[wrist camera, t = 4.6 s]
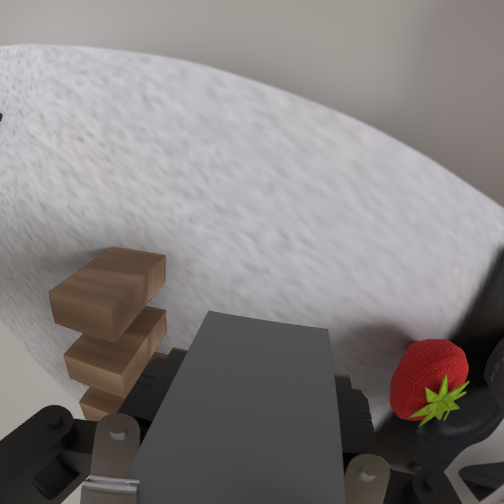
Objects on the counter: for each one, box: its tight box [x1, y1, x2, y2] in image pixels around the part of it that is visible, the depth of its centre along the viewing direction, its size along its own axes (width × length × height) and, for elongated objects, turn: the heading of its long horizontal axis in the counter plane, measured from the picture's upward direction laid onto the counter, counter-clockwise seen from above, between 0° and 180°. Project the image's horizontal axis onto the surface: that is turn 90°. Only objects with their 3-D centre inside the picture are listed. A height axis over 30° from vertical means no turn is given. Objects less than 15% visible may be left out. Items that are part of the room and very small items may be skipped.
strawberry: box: [390, 339, 469, 427], centre depth 20 cm, size 6×8×10 cm
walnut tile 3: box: [64, 306, 167, 399], centre depth 22 cm, size 2×5×9 cm, turn 84°
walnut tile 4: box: [49, 247, 166, 343], centre depth 21 cm, size 2×5×9 cm, turn 84°
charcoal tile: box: [125, 311, 345, 504], centre depth 9 cm, size 2×5×9 cm, turn 83°
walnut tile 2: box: [79, 352, 168, 421], centre depth 24 cm, size 2×5×9 cm, turn 84°
